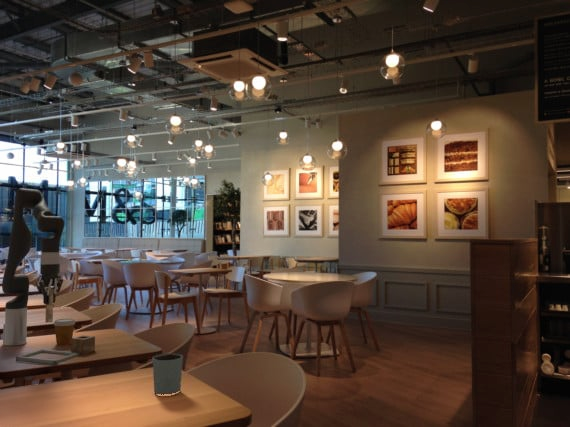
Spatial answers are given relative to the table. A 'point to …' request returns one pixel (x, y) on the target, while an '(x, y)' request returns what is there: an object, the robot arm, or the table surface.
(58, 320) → the disposable coffee cup
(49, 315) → the dowel
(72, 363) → the table surface
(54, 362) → the tray
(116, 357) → the table surface
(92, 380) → the table surface
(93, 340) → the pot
